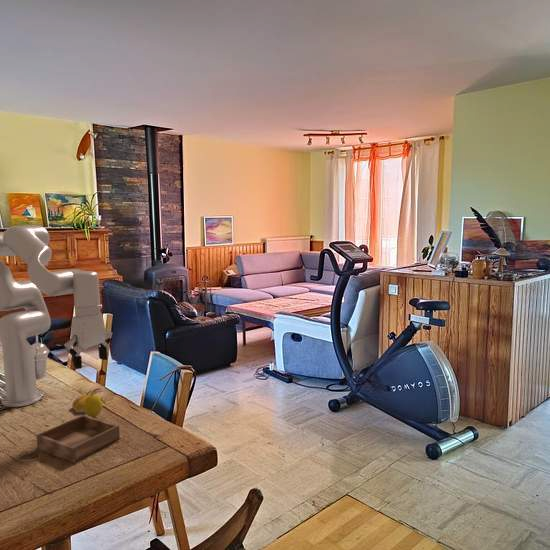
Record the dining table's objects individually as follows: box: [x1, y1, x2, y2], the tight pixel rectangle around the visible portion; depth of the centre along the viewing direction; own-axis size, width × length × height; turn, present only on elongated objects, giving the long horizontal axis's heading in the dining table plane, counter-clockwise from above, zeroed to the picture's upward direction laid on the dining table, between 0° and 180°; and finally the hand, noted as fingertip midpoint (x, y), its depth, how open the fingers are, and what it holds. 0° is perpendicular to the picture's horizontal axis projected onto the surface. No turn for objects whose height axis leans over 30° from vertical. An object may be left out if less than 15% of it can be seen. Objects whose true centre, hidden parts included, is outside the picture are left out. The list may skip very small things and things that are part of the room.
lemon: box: [84, 393, 103, 419], centre depth 154 cm, size 6×6×8 cm
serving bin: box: [36, 414, 121, 464], centre depth 137 cm, size 16×16×4 cm
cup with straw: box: [30, 335, 50, 379], centre depth 193 cm, size 8×9×20 cm
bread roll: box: [71, 394, 91, 414], centre depth 163 cm, size 8×9×4 cm
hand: (90, 363), depth 153 cm, fingers open, 9 cm apart
